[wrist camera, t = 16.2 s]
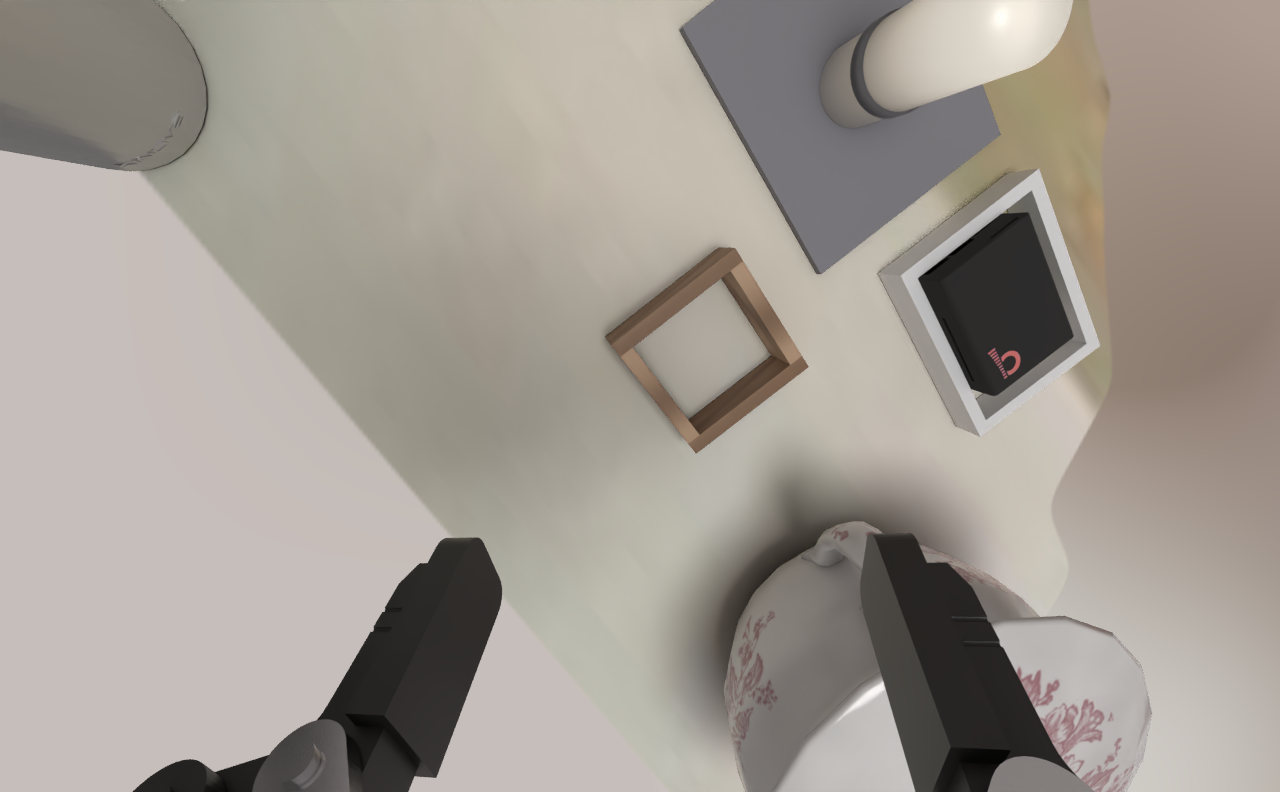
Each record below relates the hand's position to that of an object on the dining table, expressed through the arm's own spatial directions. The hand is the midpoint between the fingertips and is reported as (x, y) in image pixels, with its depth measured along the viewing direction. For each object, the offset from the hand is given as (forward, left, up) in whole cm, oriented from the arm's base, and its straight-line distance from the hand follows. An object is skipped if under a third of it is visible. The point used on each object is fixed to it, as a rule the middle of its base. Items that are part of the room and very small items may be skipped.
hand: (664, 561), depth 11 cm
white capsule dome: (-2, +25, -25) cm, 35 cm away
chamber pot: (+34, +2, -26) cm, 43 cm away
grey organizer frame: (+18, +27, -26) cm, 41 cm away
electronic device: (+16, +25, -26) cm, 40 cm away
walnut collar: (+6, +7, -26) cm, 27 cm away
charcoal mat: (-2, +25, -26) cm, 36 cm away
